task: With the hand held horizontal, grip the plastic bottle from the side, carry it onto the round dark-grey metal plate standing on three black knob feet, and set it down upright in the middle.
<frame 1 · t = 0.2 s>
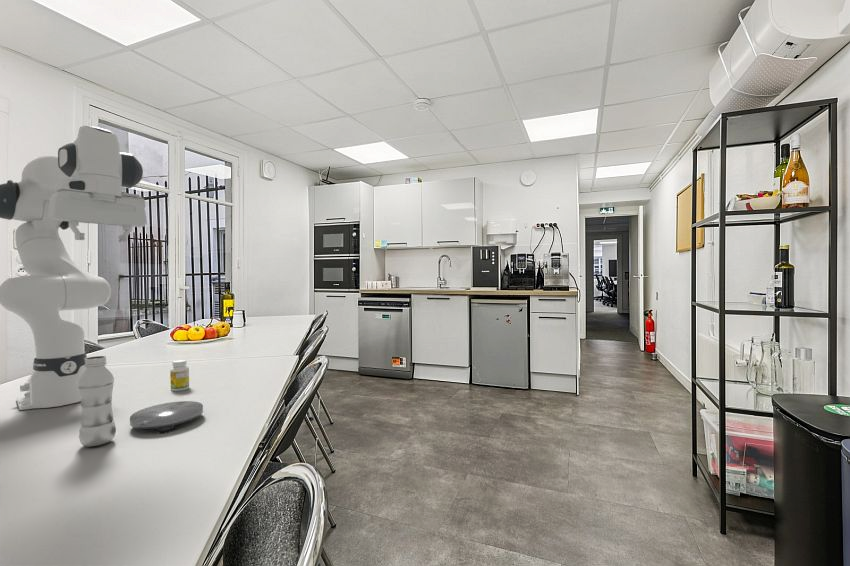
hand: (102, 241, 104), 48 cm above the table, tool pointing down, fingers open, 8 cm apart
supplement bottle: (180, 389, 133), on the table
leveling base: (168, 422, 102), on the table
plastic bottle: (98, 444, 89), on the table
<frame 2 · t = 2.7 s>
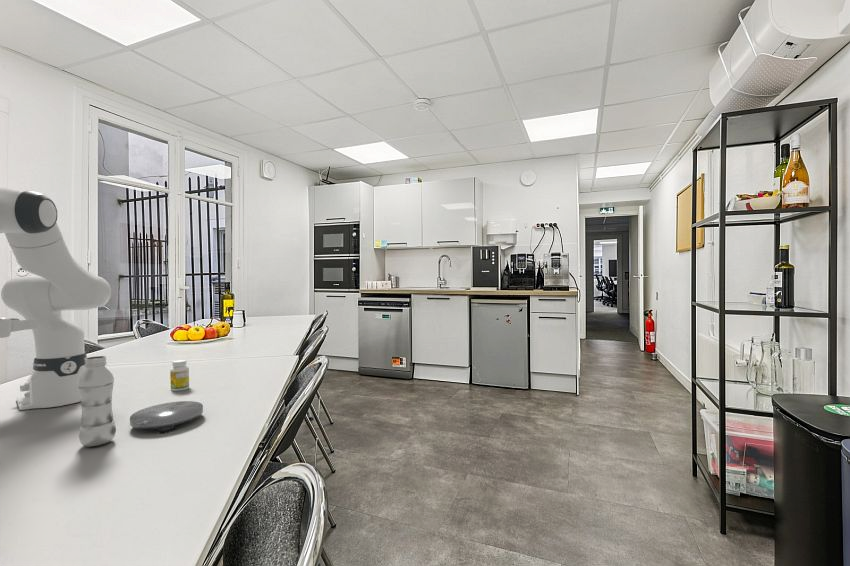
hand: (27, 323, 79), 29 cm above the table, tool horizontal, fingers open, 8 cm apart
nothing on the table moved.
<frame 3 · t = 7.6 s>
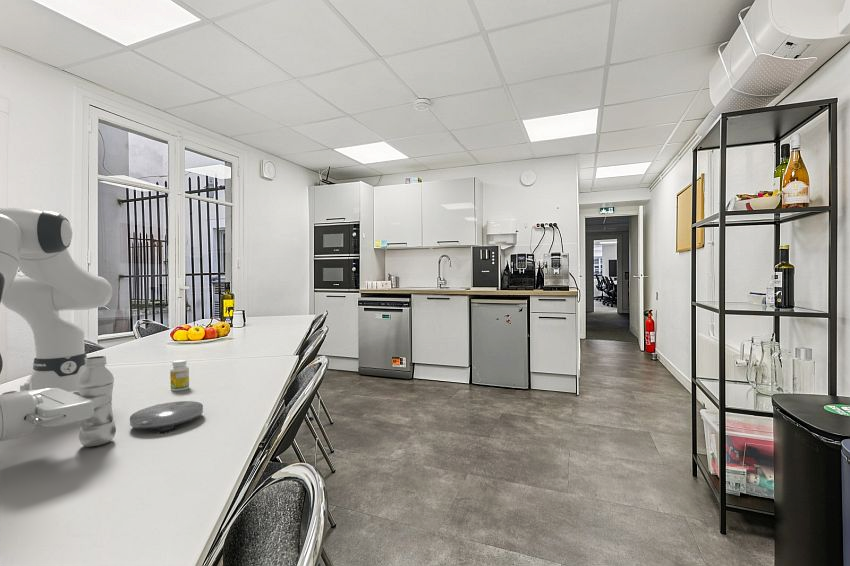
hand: (101, 395, 90), 11 cm above the table, tool horizontal, fingers closed on plastic bottle, 6 cm apart
plastic bottle: (98, 444, 89), on the table, touching gripper
everything else where it was.
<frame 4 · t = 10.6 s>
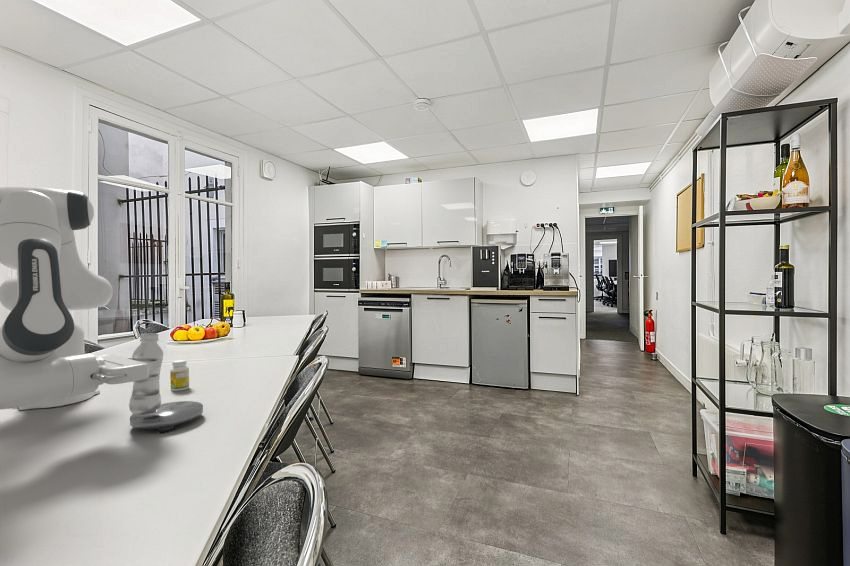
hand: (151, 361, 99), 17 cm above the table, tool horizontal, fingers closed on plastic bottle, 6 cm apart
plastic bottle: (144, 414, 98), point 4 cm above the table, touching gripper
everything else where it was.
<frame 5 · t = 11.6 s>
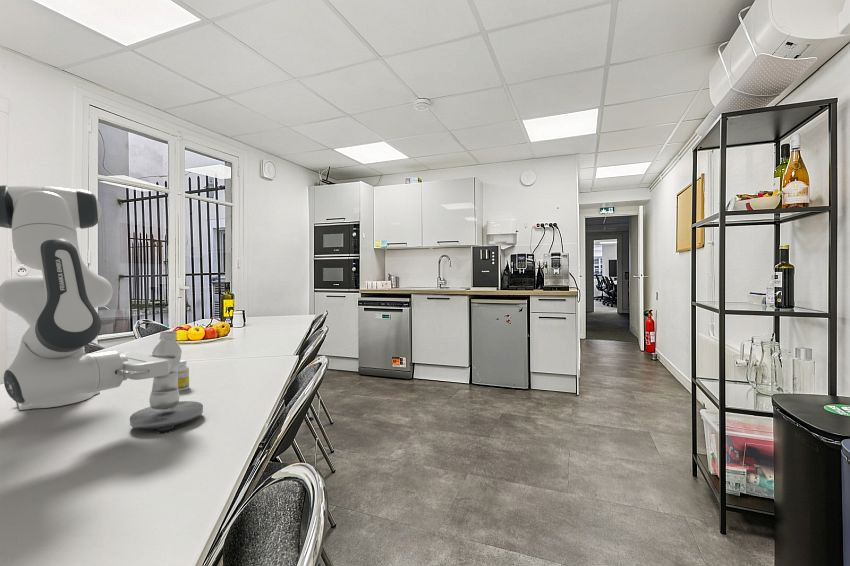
hand: (170, 359, 103), 17 cm above the table, tool horizontal, fingers closed on plastic bottle, 6 cm apart
plastic bottle: (163, 409, 101), point 4 cm above the table, touching gripper
everything else where it was.
when the fingers open (16 cm above the table, at t = 12.3 s): plastic bottle stays where it is, resting on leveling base.
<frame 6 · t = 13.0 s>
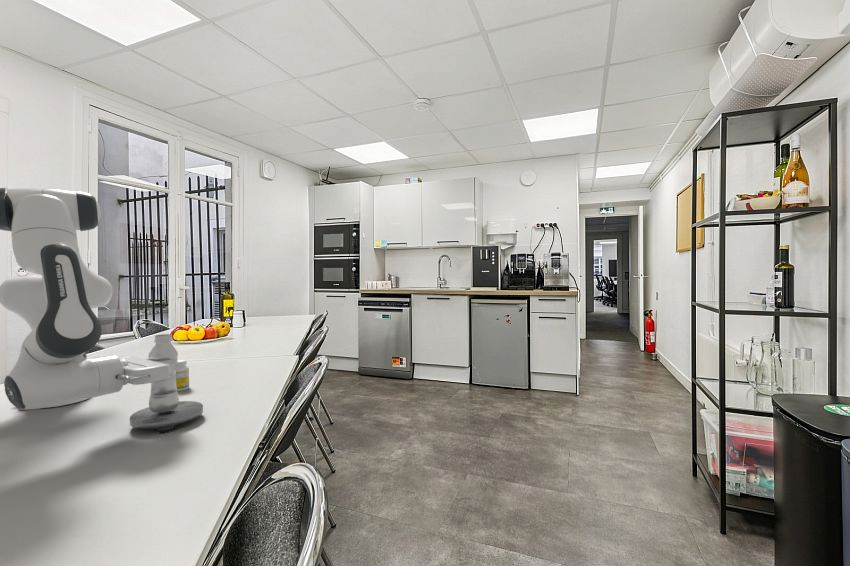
hand: (170, 363, 103), 16 cm above the table, tool horizontal, fingers open, 8 cm apart
plastic bottle: (164, 412, 101), point 3 cm above the table, touching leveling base
everything else where it was.
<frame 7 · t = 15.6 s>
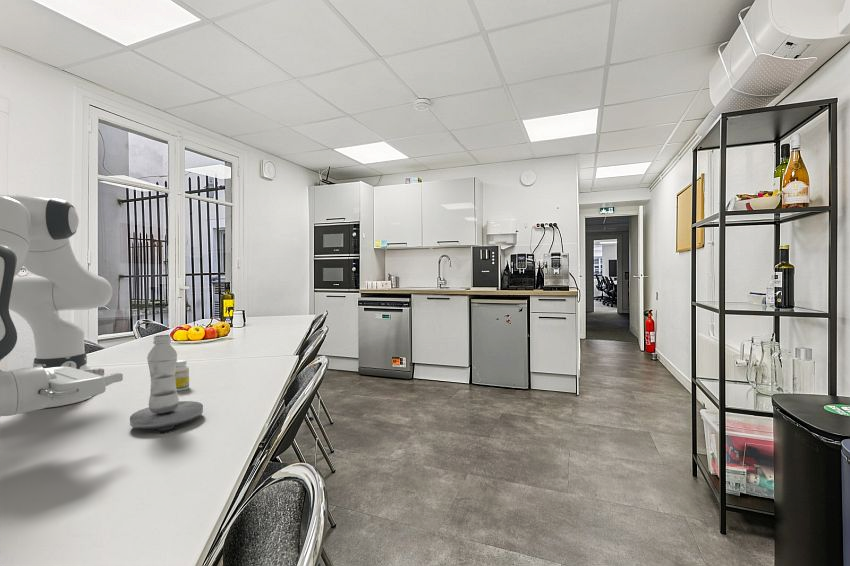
hand: (112, 374, 92), 16 cm above the table, tool horizontal, fingers open, 8 cm apart
nothing on the table moved.
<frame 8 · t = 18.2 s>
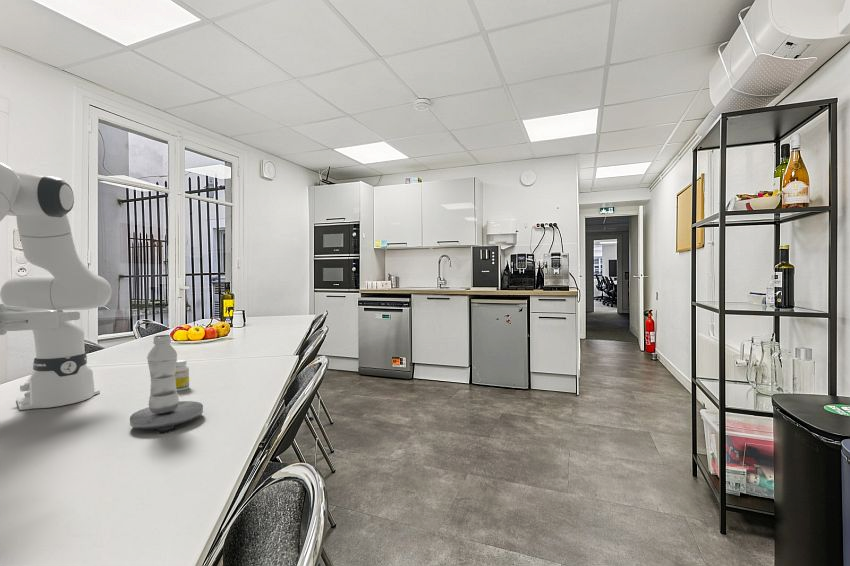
hand: (70, 314, 88), 30 cm above the table, tool horizontal, fingers open, 8 cm apart
nothing on the table moved.
at the end: plastic bottle inside the target area on the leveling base (0.9 cm from its centre), point 2.8 cm above the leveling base's base; plastic bottle tilted 0°; the gripper is holding nothing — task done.
